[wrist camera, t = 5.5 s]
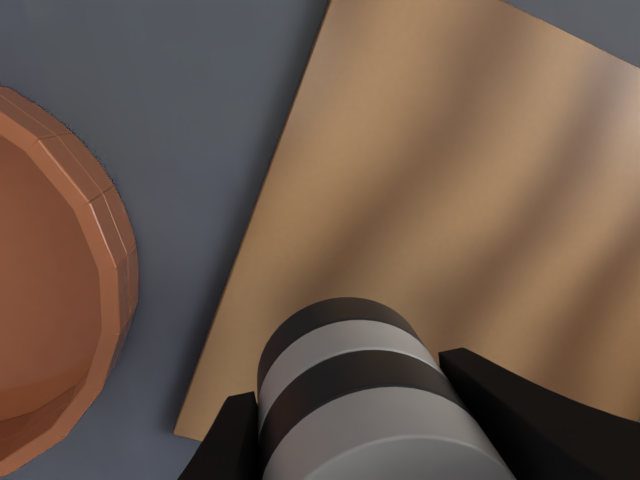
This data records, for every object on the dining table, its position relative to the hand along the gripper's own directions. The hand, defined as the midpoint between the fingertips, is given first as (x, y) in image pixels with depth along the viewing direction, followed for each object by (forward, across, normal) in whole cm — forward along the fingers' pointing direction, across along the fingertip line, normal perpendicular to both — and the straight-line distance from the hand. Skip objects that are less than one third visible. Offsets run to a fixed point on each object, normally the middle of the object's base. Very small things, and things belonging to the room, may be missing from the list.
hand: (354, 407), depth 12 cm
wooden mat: (+9, -7, +2) cm, 11 cm away
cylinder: (+1, 0, 0) cm, 1 cm away
